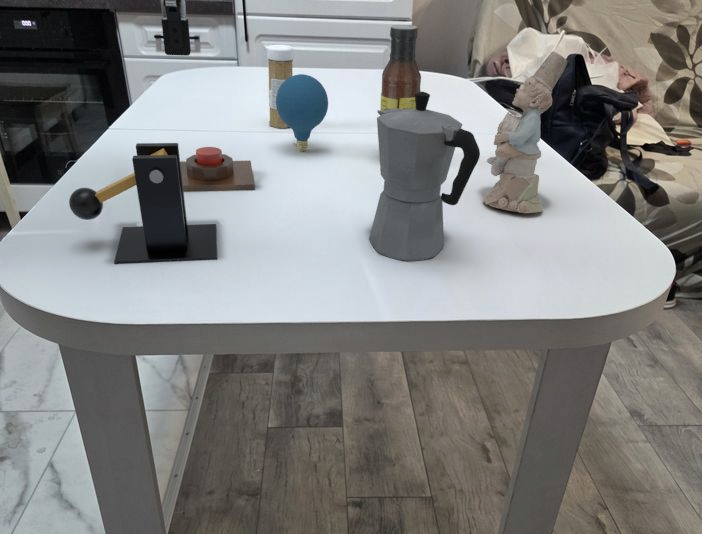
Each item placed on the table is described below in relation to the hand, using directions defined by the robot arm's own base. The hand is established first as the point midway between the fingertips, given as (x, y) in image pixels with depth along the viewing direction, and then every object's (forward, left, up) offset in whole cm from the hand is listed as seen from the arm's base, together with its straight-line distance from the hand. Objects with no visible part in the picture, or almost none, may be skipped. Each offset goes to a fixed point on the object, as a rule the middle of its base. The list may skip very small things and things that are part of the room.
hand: (178, 53), depth 81 cm
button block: (+3, -1, -17) cm, 17 cm away
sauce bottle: (+33, +8, -17) cm, 38 cm away
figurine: (+45, -12, -17) cm, 50 cm away
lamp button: (+3, -1, -14) cm, 14 cm away
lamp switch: (-2, -22, -17) cm, 28 cm away
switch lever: (-6, -22, -11) cm, 25 cm away
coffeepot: (+27, -24, -17) cm, 40 cm away
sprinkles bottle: (+16, +28, -17) cm, 37 cm away
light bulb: (+18, +13, -17) cm, 28 cm away
